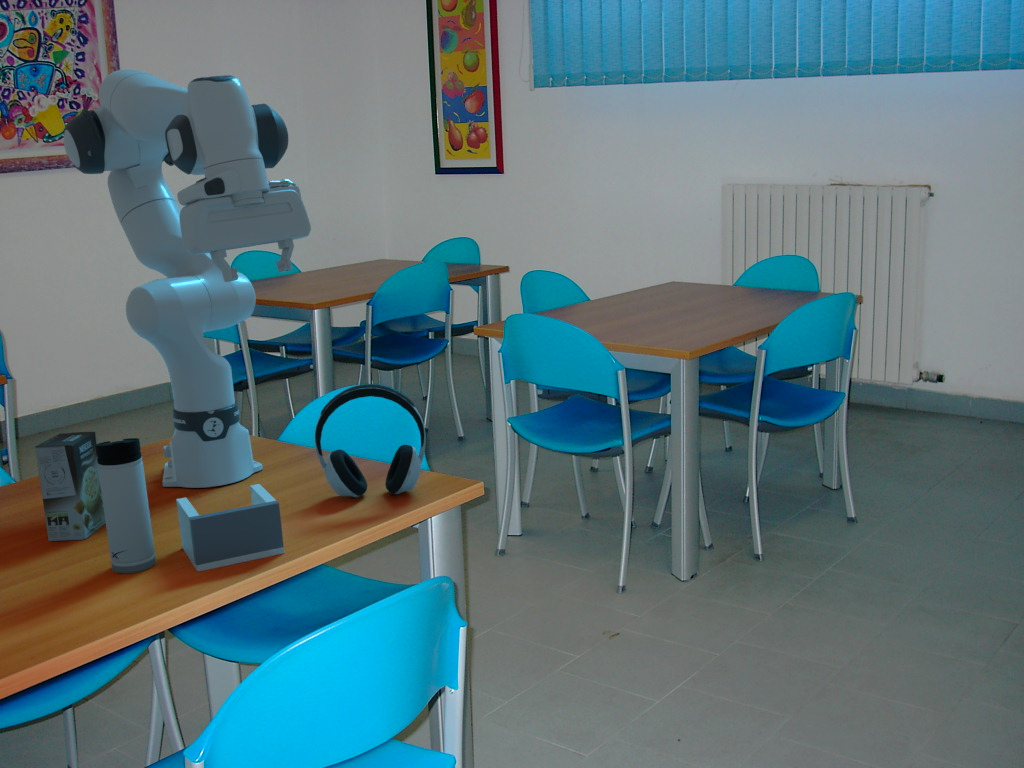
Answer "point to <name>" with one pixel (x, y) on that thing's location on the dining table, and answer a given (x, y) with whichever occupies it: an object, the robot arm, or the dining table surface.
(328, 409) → the headphones
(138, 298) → the robot arm
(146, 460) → the dining table surface
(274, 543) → the u-shaped bracket
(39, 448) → the coffee box
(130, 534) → the travel mug
